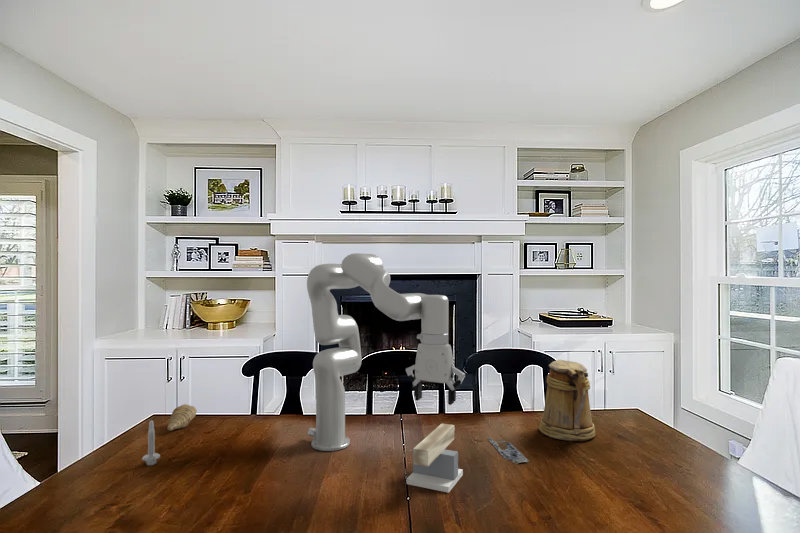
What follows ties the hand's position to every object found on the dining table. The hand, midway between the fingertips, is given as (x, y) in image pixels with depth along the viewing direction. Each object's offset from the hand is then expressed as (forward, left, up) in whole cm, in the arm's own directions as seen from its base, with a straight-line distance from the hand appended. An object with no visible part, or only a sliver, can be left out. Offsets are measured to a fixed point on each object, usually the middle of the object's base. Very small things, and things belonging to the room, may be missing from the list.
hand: (434, 401), depth 132 cm
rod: (0, 0, -14) cm, 14 cm away
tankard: (+30, +53, -22) cm, 65 cm away
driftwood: (+14, +29, -22) cm, 39 cm away
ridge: (0, 0, -22) cm, 22 cm away
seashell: (-100, 0, -22) cm, 102 cm away
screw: (-81, -26, -22) cm, 88 cm away
